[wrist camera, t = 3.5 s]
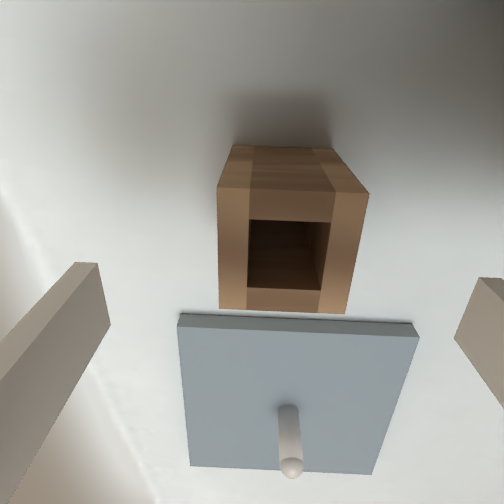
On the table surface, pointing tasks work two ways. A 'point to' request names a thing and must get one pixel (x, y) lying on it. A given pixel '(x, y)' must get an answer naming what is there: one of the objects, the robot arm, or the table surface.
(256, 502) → the table surface
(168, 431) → the table surface
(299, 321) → the pin plate
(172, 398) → the table surface
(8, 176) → the table surface
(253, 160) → the block
